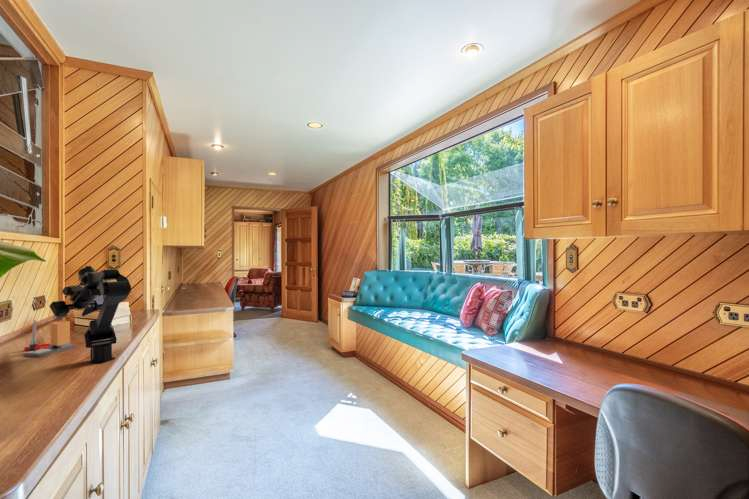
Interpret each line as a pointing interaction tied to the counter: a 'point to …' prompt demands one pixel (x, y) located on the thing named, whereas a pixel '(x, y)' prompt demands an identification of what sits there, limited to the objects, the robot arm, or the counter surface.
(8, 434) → the counter surface
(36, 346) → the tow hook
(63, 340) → the orange sleeve
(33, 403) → the counter surface
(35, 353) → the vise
